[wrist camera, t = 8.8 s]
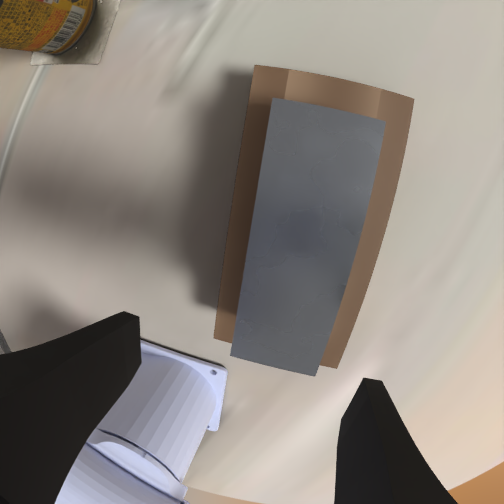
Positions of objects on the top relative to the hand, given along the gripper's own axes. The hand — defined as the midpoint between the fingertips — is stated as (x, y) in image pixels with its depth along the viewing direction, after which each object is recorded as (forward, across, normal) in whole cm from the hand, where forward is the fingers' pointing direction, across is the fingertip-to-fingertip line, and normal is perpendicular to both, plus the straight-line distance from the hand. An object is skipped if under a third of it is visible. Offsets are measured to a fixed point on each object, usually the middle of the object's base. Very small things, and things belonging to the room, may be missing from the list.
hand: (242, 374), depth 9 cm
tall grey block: (+10, -1, -2) cm, 11 cm away
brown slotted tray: (+10, -1, -2) cm, 11 cm away
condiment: (+11, +18, -14) cm, 26 cm away
